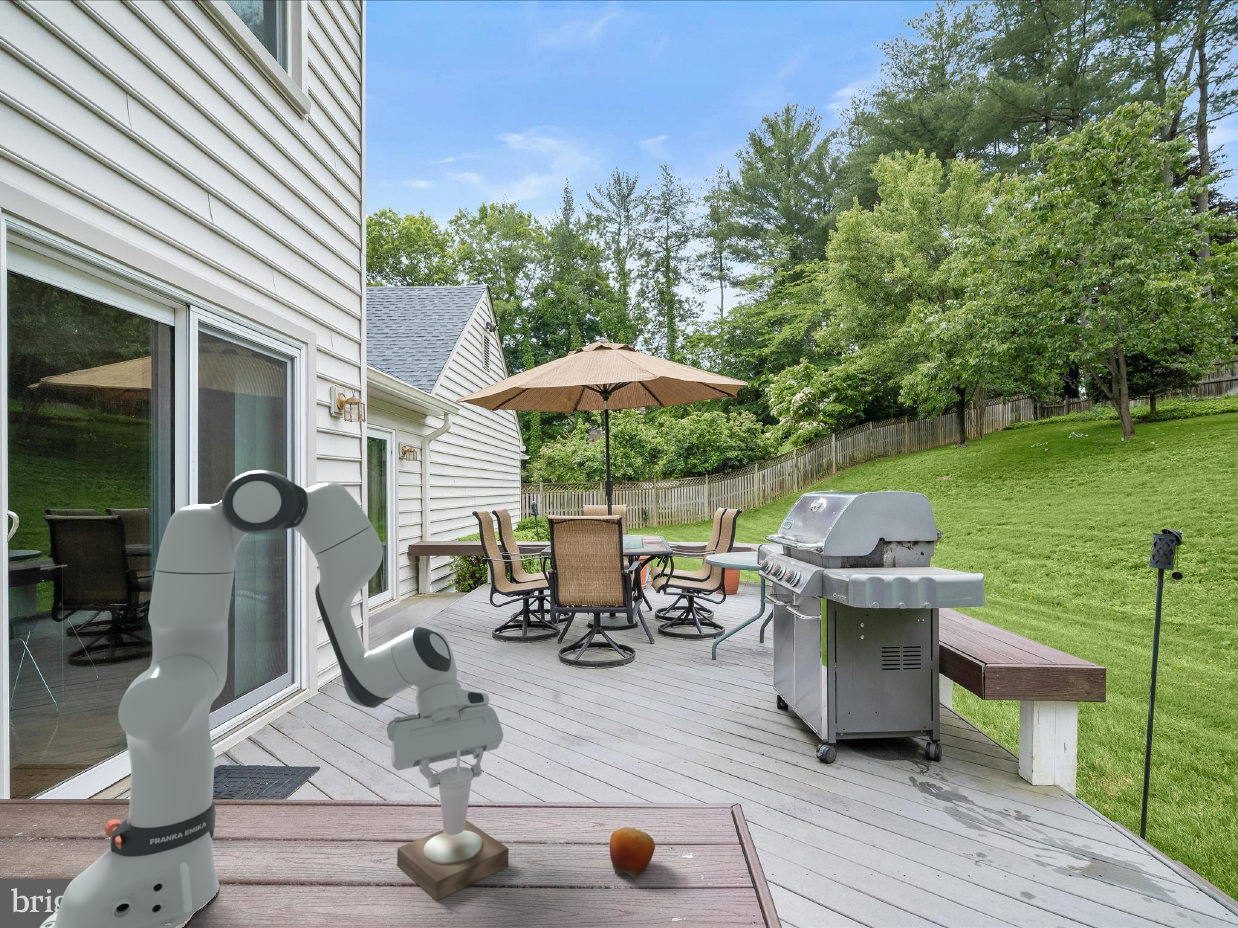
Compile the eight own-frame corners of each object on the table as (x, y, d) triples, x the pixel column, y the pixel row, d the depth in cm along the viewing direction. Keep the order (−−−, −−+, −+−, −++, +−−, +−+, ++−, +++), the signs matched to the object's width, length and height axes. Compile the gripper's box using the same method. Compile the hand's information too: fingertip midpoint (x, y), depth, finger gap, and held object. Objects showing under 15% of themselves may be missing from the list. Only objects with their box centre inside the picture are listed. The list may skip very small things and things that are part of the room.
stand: (436, 900, 99) (436, 877, 100) (397, 865, 109) (397, 844, 110) (508, 865, 109) (508, 844, 110) (466, 836, 119) (466, 816, 119)
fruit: (597, 873, 105) (606, 820, 109) (611, 876, 111) (619, 826, 115) (642, 884, 102) (650, 829, 106) (654, 886, 108) (661, 834, 112)
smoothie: (462, 840, 106) (464, 757, 107) (428, 836, 107) (430, 754, 108) (478, 822, 112) (479, 743, 113) (446, 818, 114) (447, 740, 115)
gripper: (388, 710, 112) (399, 786, 103) (495, 692, 123) (513, 759, 114) (382, 728, 115) (392, 803, 106) (487, 709, 126) (504, 775, 117)
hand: (456, 780), depth 110 cm, fingers closed on smoothie, 6 cm apart
